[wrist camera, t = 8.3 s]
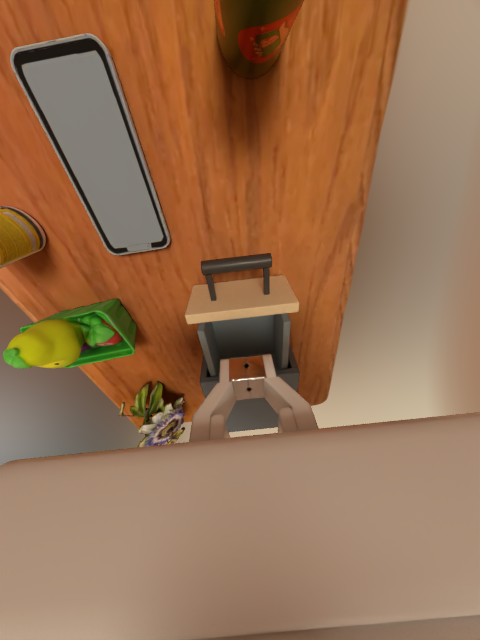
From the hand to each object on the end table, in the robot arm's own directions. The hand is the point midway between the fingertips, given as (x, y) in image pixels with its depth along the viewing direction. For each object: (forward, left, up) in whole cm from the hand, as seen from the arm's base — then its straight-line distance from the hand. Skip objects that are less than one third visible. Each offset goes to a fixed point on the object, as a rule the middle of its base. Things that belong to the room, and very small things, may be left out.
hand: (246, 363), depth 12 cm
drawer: (0, +7, -16) cm, 17 cm away
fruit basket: (+21, +6, -17) cm, 28 cm away
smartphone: (+11, -10, -17) cm, 23 cm away
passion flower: (+19, +28, -17) cm, 38 cm away
